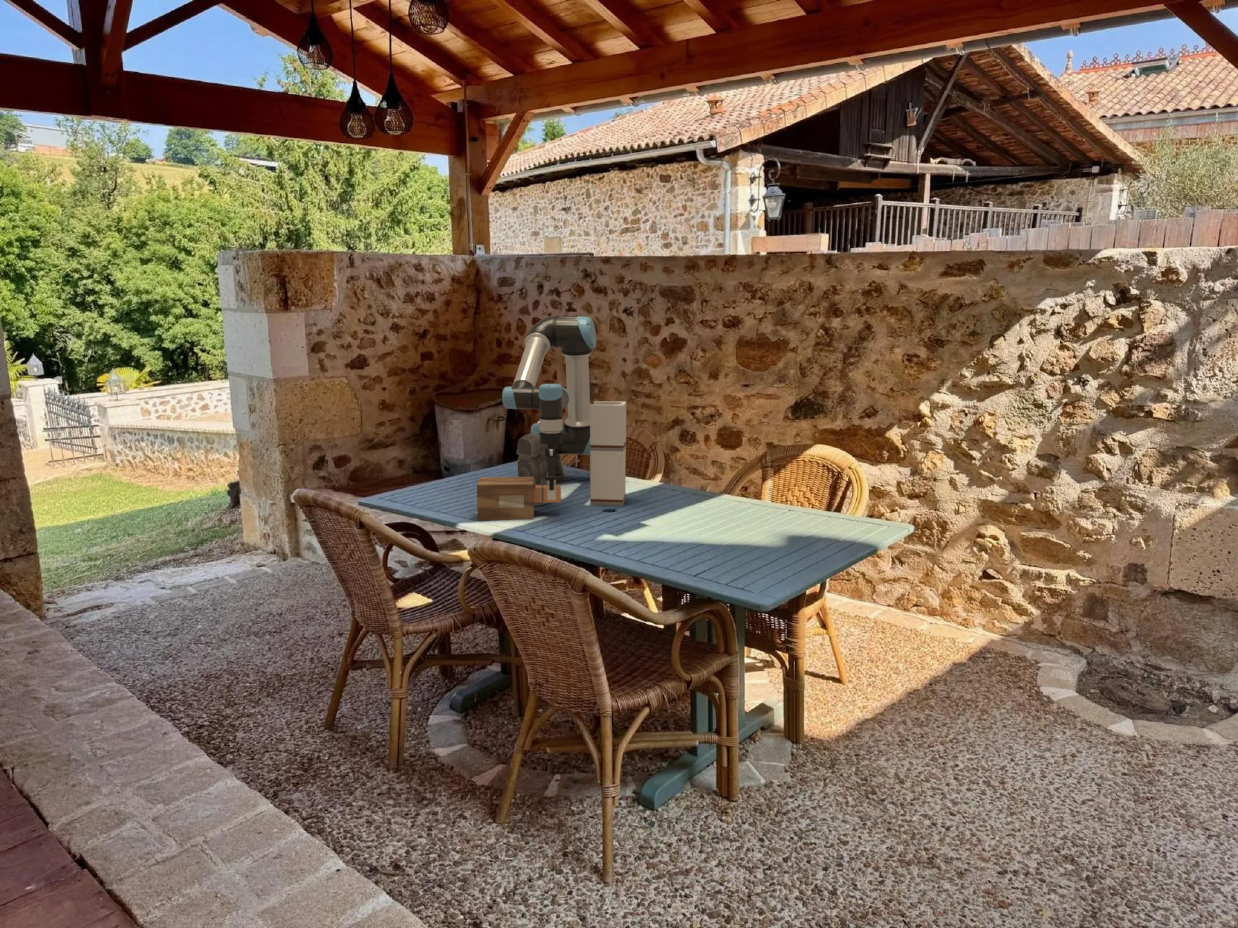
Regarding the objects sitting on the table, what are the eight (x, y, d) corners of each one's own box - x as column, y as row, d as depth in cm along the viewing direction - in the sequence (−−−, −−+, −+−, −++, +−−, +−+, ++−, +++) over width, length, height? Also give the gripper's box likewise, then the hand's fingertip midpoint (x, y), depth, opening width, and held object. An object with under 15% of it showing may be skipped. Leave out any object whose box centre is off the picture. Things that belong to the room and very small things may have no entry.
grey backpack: (535, 507, 282) (534, 436, 277) (511, 500, 293) (510, 431, 288) (557, 503, 289) (557, 433, 284) (533, 496, 299) (532, 428, 294)
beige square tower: (625, 498, 297) (626, 401, 290) (622, 505, 286) (623, 405, 279) (594, 497, 298) (594, 401, 291) (590, 504, 287) (590, 404, 280)
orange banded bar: (485, 500, 274) (484, 485, 273) (560, 499, 276) (560, 484, 275) (484, 503, 270) (484, 488, 269) (560, 502, 272) (560, 487, 271)
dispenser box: (480, 510, 278) (479, 477, 276) (535, 509, 280) (535, 476, 278) (477, 520, 266) (476, 485, 264) (535, 519, 268) (534, 484, 266)
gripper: (539, 426, 281) (540, 487, 285) (539, 437, 257) (539, 503, 260) (561, 426, 282) (562, 486, 286) (563, 437, 257) (563, 503, 261)
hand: (551, 495), depth 273 cm, fingers open, 13 cm apart
